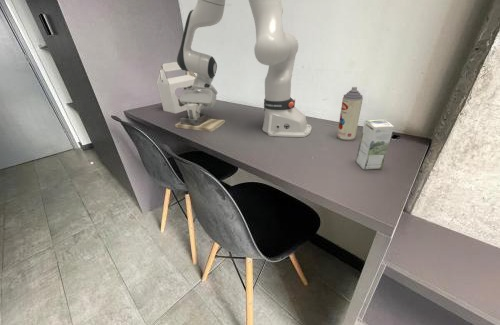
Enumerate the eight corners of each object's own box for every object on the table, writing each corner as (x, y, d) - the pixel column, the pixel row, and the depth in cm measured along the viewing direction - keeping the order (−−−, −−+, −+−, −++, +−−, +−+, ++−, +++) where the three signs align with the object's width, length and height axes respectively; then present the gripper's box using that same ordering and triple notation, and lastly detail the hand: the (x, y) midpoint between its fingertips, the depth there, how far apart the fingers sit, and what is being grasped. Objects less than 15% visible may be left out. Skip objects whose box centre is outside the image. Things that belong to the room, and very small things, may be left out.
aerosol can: (335, 134, 93) (342, 85, 84) (351, 134, 93) (361, 85, 83) (339, 141, 87) (347, 89, 78) (357, 140, 87) (367, 88, 77)
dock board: (225, 122, 115) (224, 114, 113) (211, 131, 105) (210, 122, 103) (191, 119, 123) (189, 111, 121) (175, 127, 113) (173, 118, 111)
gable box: (190, 102, 157) (182, 60, 144) (202, 105, 150) (195, 60, 136) (163, 111, 143) (151, 64, 129) (175, 113, 135) (163, 64, 121)
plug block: (200, 120, 115) (197, 103, 111) (195, 123, 112) (192, 106, 107) (194, 120, 117) (191, 103, 112) (189, 122, 113) (185, 105, 109)
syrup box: (372, 160, 73) (382, 118, 66) (382, 169, 68) (394, 125, 61) (355, 161, 73) (364, 119, 66) (363, 170, 68) (374, 126, 61)
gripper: (181, 84, 116) (173, 107, 113) (214, 85, 108) (206, 110, 105) (188, 91, 121) (180, 113, 118) (220, 92, 113) (212, 116, 111)
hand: (193, 112), depth 112 cm, fingers closed on plug block, 4 cm apart
